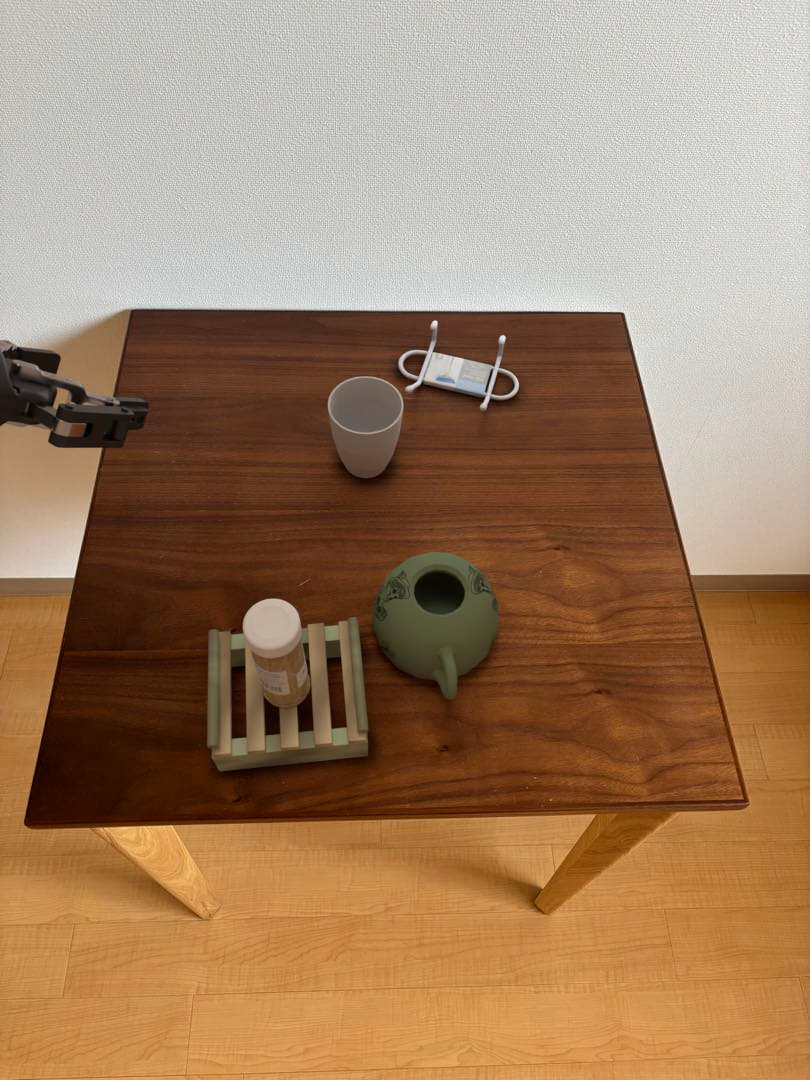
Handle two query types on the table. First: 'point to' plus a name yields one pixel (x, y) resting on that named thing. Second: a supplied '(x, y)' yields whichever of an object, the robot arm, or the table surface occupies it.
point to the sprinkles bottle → (277, 651)
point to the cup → (365, 423)
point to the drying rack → (290, 741)
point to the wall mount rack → (458, 372)
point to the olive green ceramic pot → (436, 618)
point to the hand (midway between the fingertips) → (97, 389)
